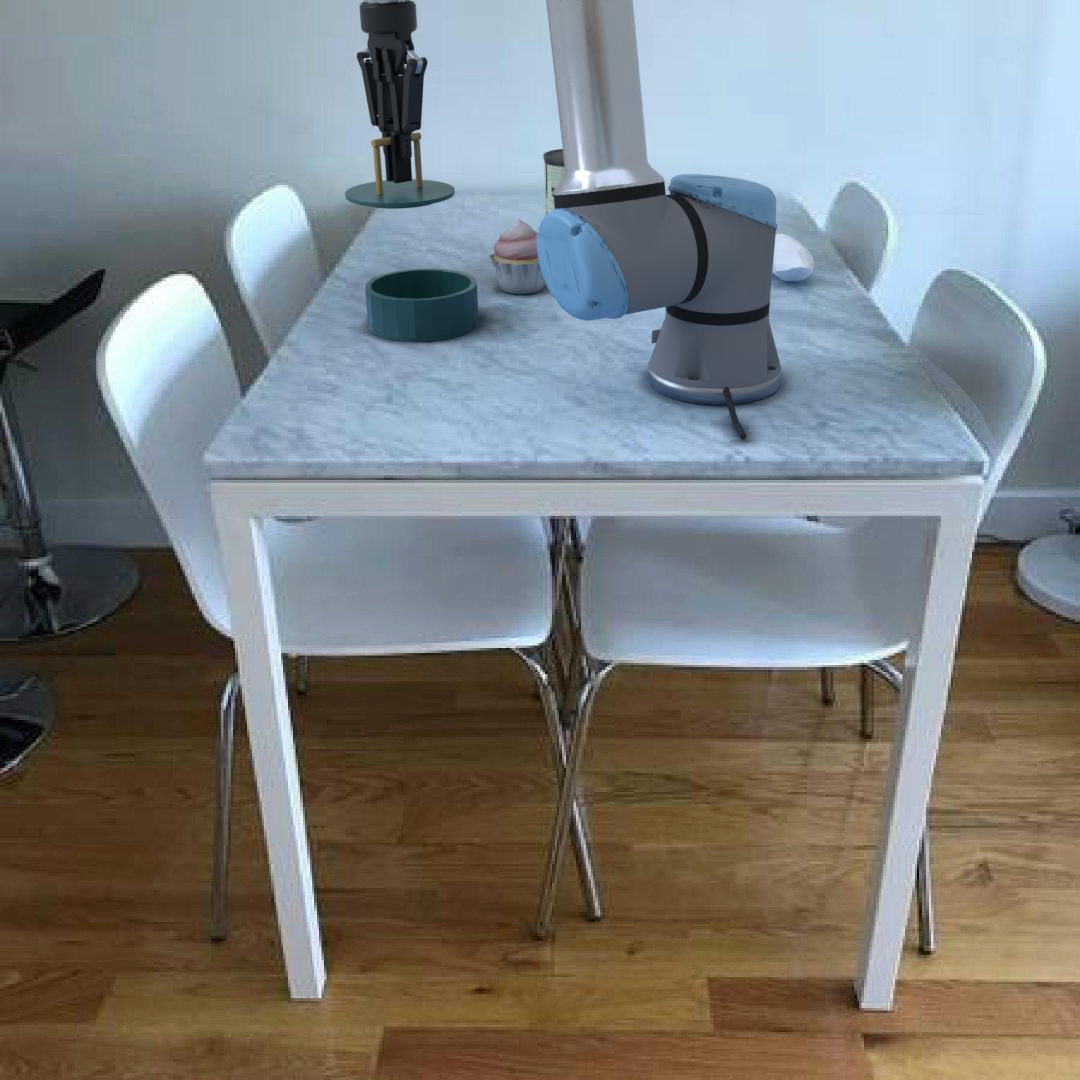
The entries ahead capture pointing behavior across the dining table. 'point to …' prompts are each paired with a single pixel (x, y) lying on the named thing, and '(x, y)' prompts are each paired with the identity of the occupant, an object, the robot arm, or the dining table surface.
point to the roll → (791, 259)
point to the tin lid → (399, 185)
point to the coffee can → (552, 176)
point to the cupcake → (518, 260)
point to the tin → (422, 304)
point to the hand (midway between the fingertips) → (399, 180)
